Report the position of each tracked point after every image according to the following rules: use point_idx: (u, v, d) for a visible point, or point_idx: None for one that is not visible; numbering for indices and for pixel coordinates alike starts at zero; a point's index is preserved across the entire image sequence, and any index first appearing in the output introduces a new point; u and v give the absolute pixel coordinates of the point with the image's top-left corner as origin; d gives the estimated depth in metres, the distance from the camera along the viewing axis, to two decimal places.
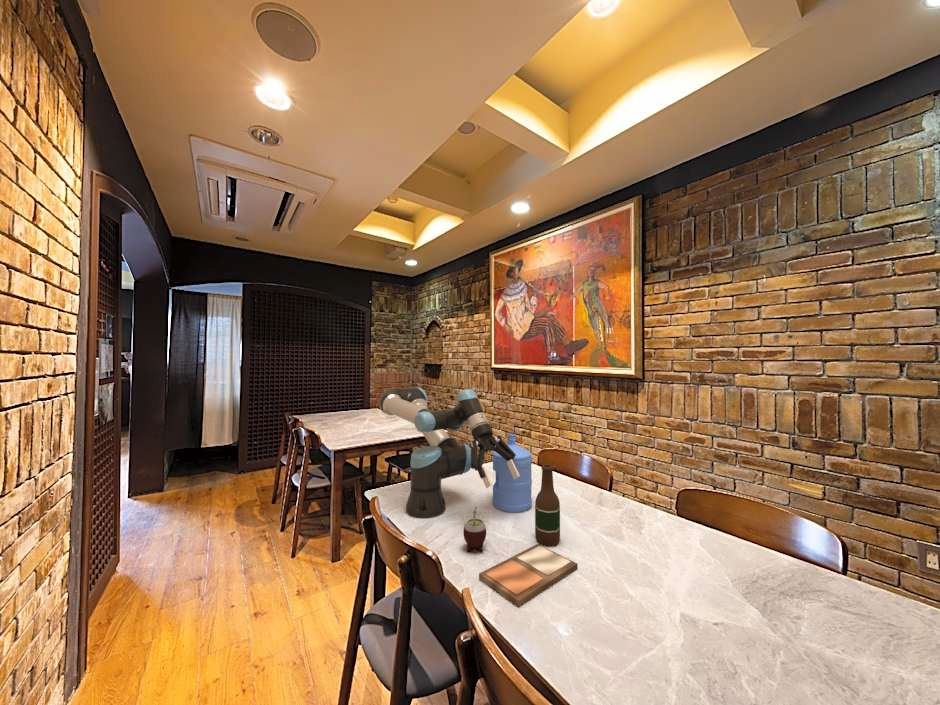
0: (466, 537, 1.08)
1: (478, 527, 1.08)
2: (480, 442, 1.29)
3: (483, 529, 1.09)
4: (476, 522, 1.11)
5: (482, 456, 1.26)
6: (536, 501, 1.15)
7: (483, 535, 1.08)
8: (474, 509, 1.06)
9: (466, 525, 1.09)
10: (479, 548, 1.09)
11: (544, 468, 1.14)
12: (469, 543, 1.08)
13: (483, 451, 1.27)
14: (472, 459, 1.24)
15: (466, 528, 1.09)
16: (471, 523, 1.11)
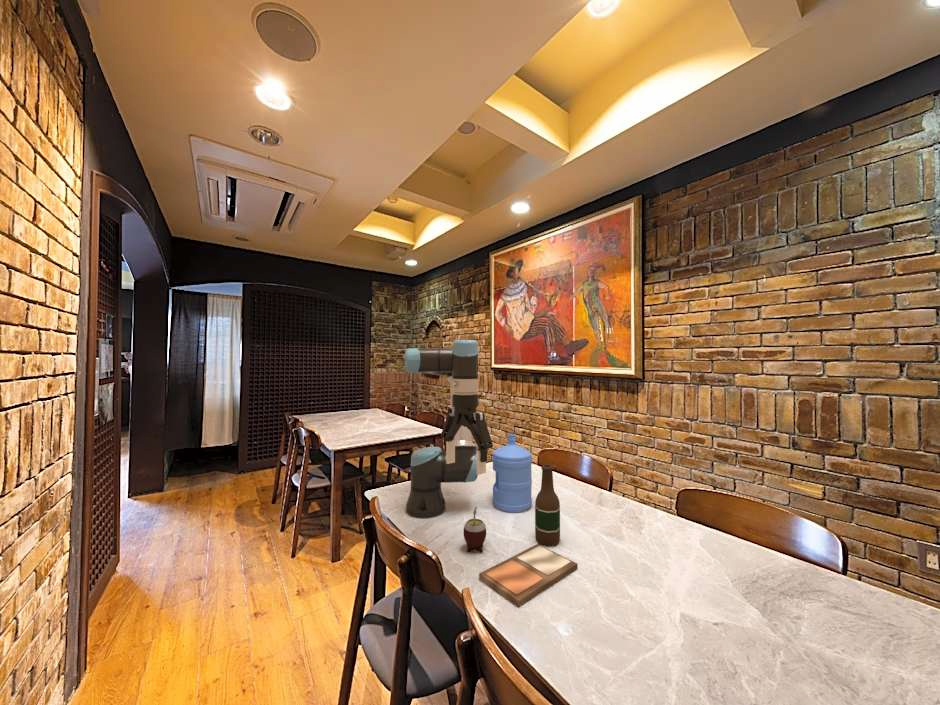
0: (466, 537, 1.08)
1: (478, 527, 1.08)
2: (454, 413, 1.05)
3: (483, 529, 1.09)
4: (476, 522, 1.11)
5: (450, 430, 1.06)
6: (536, 501, 1.15)
7: (483, 535, 1.08)
8: (474, 509, 1.06)
9: (466, 525, 1.09)
10: (479, 548, 1.09)
11: (544, 468, 1.14)
12: (469, 543, 1.08)
13: (452, 425, 1.05)
14: None
15: (466, 528, 1.09)
16: (471, 523, 1.11)
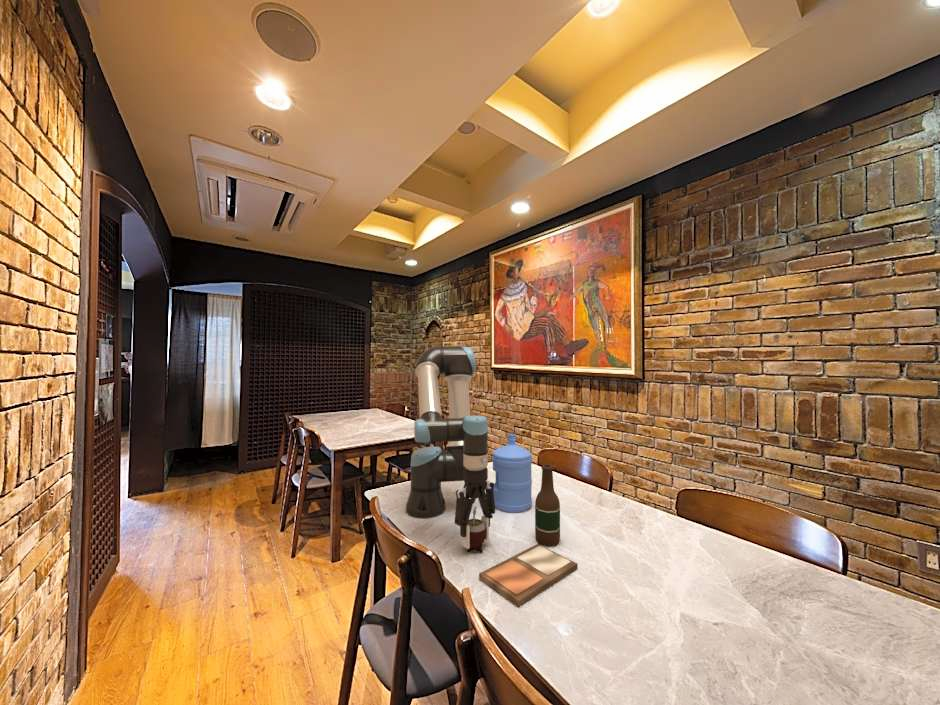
0: None
1: (478, 527, 1.08)
2: (468, 491, 1.07)
3: (483, 529, 1.08)
4: (476, 522, 1.11)
5: (468, 512, 1.07)
6: (536, 501, 1.15)
7: (483, 535, 1.08)
8: (474, 509, 1.06)
9: None
10: (479, 548, 1.09)
11: (544, 468, 1.14)
12: None
13: (470, 504, 1.07)
14: (457, 515, 1.06)
15: None
16: (471, 523, 1.10)
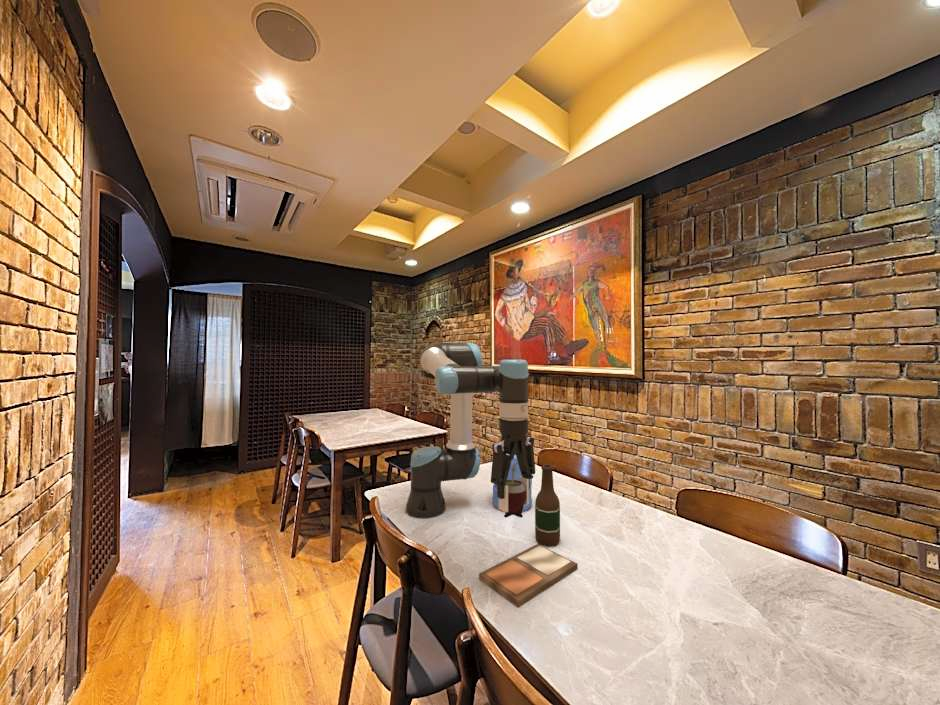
0: None
1: (518, 487, 0.92)
2: (507, 444, 0.91)
3: (523, 490, 0.92)
4: (514, 483, 0.95)
5: (507, 469, 0.91)
6: (536, 501, 1.15)
7: (523, 497, 0.92)
8: (514, 465, 0.90)
9: None
10: (518, 512, 0.92)
11: (544, 468, 1.14)
12: None
13: (509, 461, 0.91)
14: (494, 472, 0.90)
15: None
16: (508, 484, 0.94)
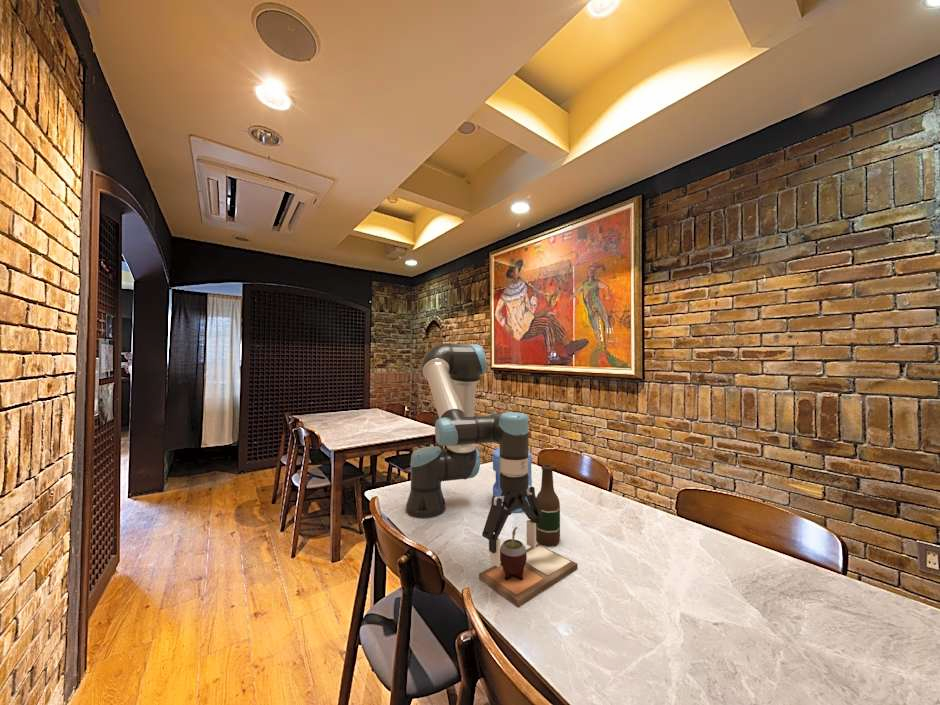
0: (503, 562, 0.92)
1: (518, 550, 0.91)
2: (507, 500, 0.91)
3: (523, 552, 0.92)
4: (514, 544, 0.95)
5: (502, 523, 0.89)
6: None
7: (524, 560, 0.92)
8: (514, 529, 0.90)
9: (503, 547, 0.93)
10: (519, 575, 0.92)
11: (544, 468, 1.14)
12: (507, 569, 0.91)
13: (506, 515, 0.90)
14: (488, 525, 0.88)
15: (503, 551, 0.92)
16: (508, 545, 0.94)
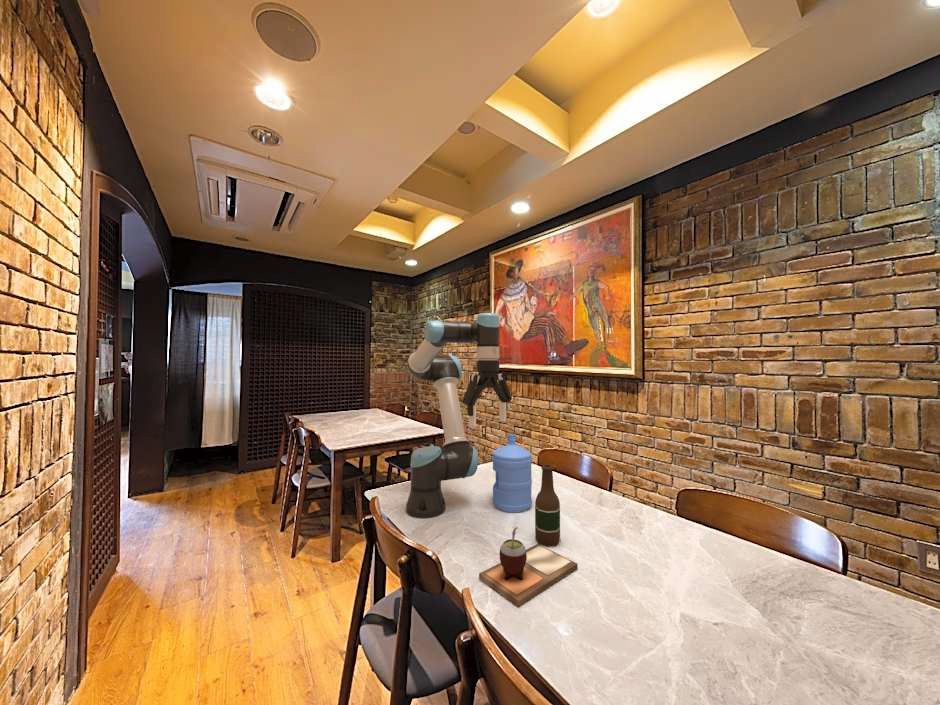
0: (503, 562, 0.92)
1: (518, 550, 0.91)
2: (482, 378, 1.17)
3: (523, 552, 0.92)
4: (514, 544, 0.95)
5: (478, 394, 1.15)
6: (536, 501, 1.15)
7: (524, 560, 0.92)
8: (514, 529, 0.90)
9: (503, 547, 0.93)
10: (519, 575, 0.92)
11: (544, 468, 1.14)
12: (507, 569, 0.91)
13: (481, 389, 1.16)
14: (466, 394, 1.14)
15: (503, 551, 0.92)
16: (508, 545, 0.94)
